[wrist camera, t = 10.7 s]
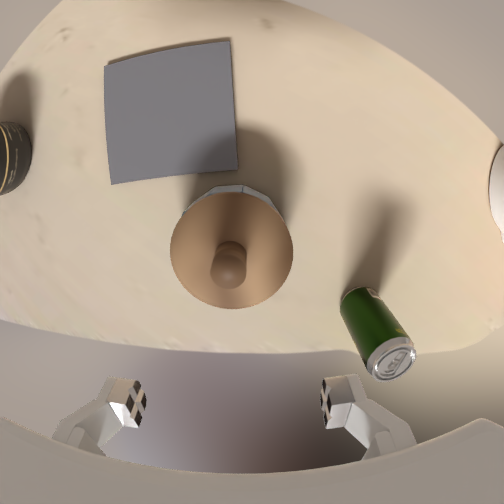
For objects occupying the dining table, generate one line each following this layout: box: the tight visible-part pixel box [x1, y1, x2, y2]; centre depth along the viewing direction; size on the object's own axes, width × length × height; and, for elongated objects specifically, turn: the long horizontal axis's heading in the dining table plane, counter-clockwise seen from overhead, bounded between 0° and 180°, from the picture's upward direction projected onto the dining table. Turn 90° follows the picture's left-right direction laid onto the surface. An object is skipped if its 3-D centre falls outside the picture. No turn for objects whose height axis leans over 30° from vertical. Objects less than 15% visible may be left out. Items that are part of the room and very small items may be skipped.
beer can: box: [340, 286, 416, 382], centre depth 29 cm, size 5×5×12 cm
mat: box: [104, 41, 238, 185], centre depth 25 cm, size 14×14×1 cm
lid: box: [170, 192, 293, 309], centre depth 24 cm, size 11×11×5 cm
